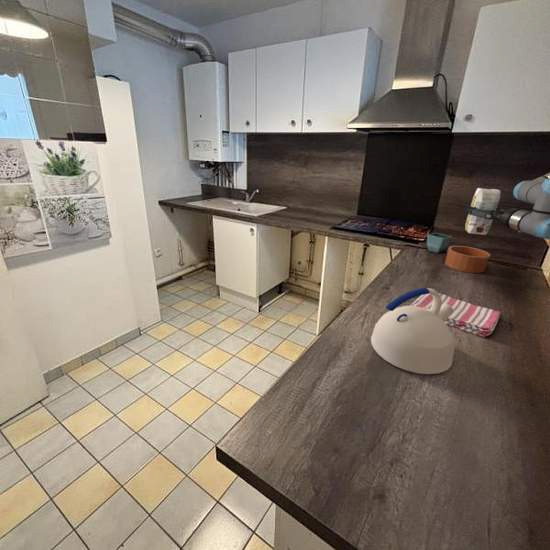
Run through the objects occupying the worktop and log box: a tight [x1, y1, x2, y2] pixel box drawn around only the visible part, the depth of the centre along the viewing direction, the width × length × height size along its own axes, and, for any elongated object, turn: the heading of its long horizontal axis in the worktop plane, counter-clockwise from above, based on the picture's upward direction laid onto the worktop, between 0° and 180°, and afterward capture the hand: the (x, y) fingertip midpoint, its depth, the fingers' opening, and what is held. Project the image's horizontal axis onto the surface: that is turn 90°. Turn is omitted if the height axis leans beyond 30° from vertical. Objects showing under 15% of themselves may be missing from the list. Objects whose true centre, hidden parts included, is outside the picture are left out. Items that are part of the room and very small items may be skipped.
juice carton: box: [464, 187, 501, 236], centre depth 128 cm, size 8×9×19 cm
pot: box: [444, 245, 491, 274], centre depth 137 cm, size 17×17×8 cm
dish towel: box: [409, 292, 502, 338], centre depth 95 cm, size 17×23×4 cm
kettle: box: [370, 287, 456, 375], centre depth 75 cm, size 20×21×18 cm
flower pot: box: [426, 232, 452, 254], centre depth 156 cm, size 9×9×9 cm
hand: (475, 208), depth 131 cm, fingers closed on juice carton, 9 cm apart
